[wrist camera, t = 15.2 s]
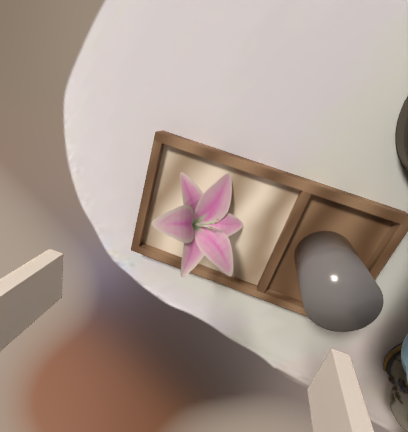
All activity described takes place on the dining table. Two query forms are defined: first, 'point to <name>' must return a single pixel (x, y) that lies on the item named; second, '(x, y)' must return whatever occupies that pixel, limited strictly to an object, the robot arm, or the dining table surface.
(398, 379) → the apothecary jar
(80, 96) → the dining table surface
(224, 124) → the dining table surface
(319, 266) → the grey rounded cylinder
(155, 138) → the tray
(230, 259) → the lily
